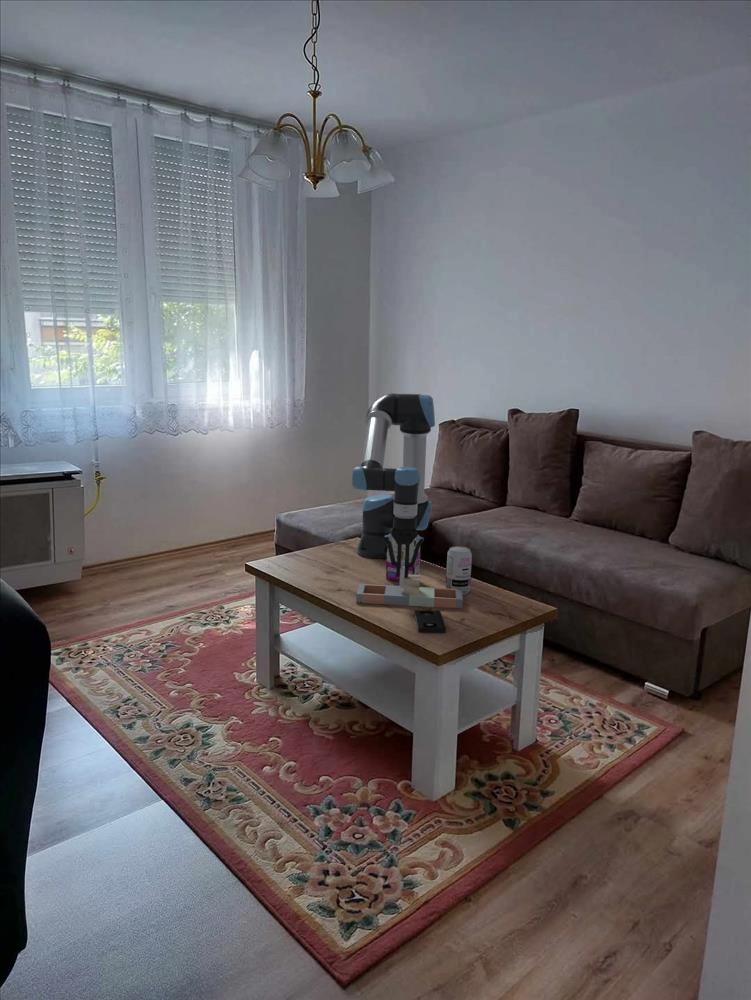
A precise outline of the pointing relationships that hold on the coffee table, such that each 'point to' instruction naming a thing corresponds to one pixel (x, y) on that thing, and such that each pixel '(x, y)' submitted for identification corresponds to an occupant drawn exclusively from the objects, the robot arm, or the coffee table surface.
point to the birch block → (411, 584)
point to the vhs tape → (429, 621)
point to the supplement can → (459, 569)
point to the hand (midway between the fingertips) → (401, 586)
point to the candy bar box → (402, 561)
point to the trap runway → (409, 596)
